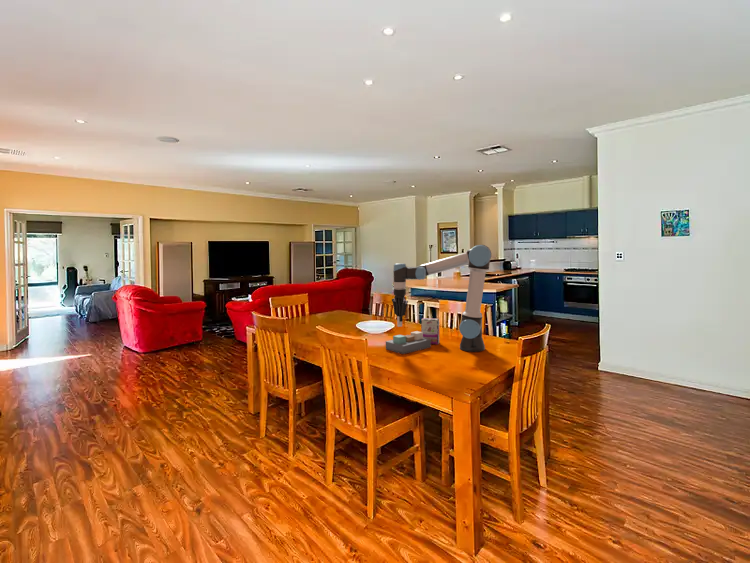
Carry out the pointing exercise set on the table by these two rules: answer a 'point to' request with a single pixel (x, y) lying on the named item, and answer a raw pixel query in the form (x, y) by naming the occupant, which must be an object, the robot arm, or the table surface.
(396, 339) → the teal key
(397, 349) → the dark grey tray
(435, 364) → the table surface
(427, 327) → the candy bar box
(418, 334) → the ivory key
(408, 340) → the walnut key
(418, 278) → the robot arm
